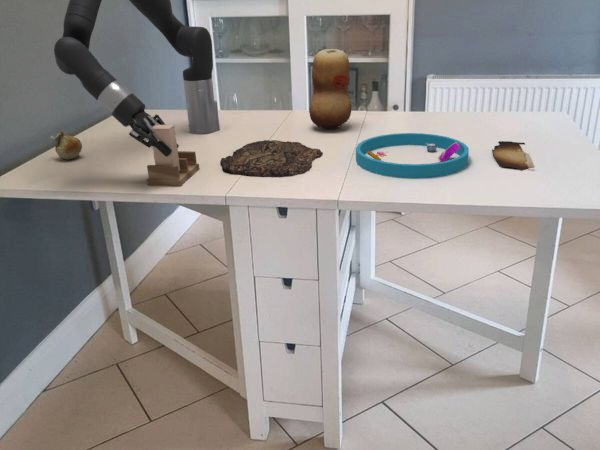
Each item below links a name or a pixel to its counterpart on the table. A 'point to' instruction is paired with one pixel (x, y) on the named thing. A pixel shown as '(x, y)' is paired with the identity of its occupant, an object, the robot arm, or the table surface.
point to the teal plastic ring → (412, 169)
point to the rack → (173, 171)
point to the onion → (67, 146)
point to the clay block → (169, 138)
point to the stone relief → (270, 159)
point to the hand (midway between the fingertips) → (172, 151)
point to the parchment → (512, 155)
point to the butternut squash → (330, 89)
